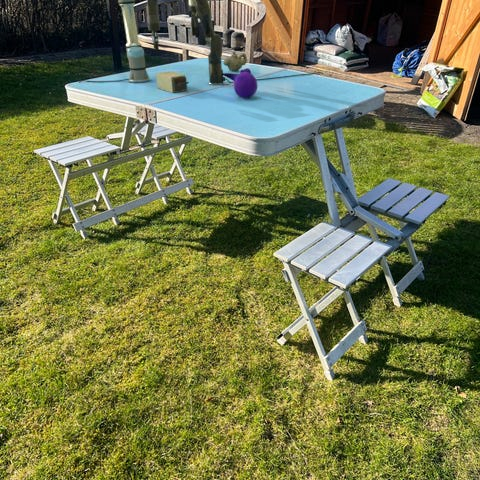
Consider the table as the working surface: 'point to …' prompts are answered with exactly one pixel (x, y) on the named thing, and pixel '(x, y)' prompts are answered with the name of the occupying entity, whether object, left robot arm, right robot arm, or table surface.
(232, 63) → the teapot
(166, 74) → the tan cardboard carton
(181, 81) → the drawer
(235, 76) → the toy
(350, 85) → the table surface
